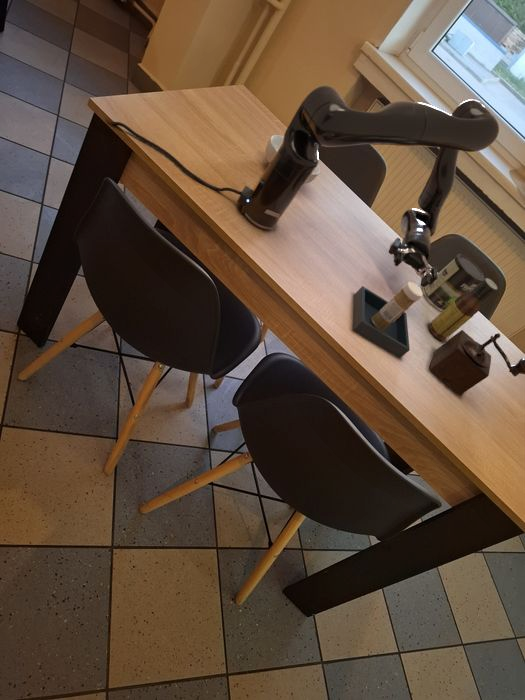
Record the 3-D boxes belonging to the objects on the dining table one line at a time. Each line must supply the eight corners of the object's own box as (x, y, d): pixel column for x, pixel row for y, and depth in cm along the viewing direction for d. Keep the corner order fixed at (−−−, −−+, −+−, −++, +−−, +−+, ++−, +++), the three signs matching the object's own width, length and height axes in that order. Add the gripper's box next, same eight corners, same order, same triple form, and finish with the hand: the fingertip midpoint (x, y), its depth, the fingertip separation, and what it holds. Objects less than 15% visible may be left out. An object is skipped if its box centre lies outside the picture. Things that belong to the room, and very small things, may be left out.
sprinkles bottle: (387, 330, 122) (426, 295, 114) (377, 332, 119) (416, 296, 111) (377, 316, 124) (415, 280, 115) (367, 317, 121) (405, 281, 112)
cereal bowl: (314, 187, 152) (328, 168, 147) (292, 199, 139) (306, 179, 135) (274, 150, 153) (286, 130, 148) (248, 158, 140) (261, 137, 135)
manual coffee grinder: (427, 371, 122) (485, 326, 110) (434, 349, 130) (489, 306, 119) (474, 412, 122) (537, 373, 110) (478, 388, 130) (537, 349, 119)
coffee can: (453, 313, 150) (490, 282, 141) (433, 311, 144) (471, 279, 135) (435, 287, 155) (470, 255, 146) (416, 284, 148) (451, 251, 139)
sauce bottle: (444, 332, 139) (502, 286, 127) (444, 345, 135) (504, 298, 122) (426, 319, 138) (482, 271, 126) (426, 331, 134) (484, 283, 121)
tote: (352, 330, 115) (362, 321, 113) (353, 294, 125) (362, 285, 123) (399, 358, 119) (409, 350, 116) (397, 321, 129) (406, 313, 126)
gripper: (405, 220, 132) (399, 246, 119) (445, 252, 133) (444, 281, 121) (386, 240, 137) (379, 267, 124) (425, 271, 138) (422, 300, 126)
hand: (411, 274), depth 123 cm, fingers open, 8 cm apart
